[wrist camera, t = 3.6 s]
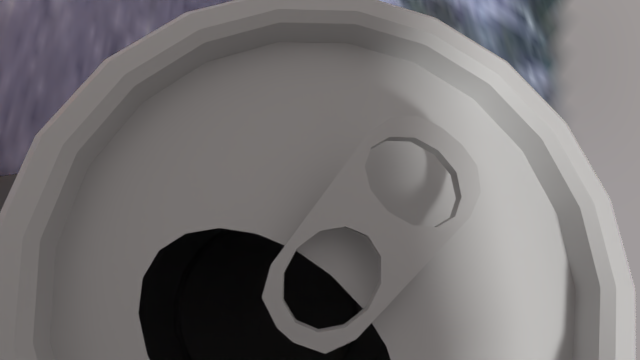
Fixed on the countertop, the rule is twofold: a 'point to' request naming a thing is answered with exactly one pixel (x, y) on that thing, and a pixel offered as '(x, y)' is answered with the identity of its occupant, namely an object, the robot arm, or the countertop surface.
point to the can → (310, 202)
